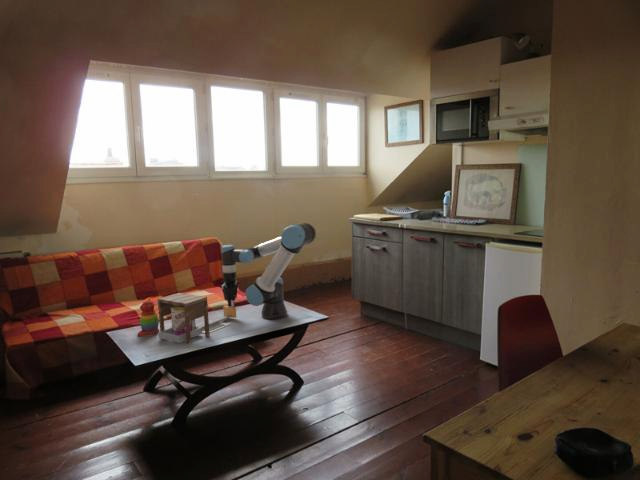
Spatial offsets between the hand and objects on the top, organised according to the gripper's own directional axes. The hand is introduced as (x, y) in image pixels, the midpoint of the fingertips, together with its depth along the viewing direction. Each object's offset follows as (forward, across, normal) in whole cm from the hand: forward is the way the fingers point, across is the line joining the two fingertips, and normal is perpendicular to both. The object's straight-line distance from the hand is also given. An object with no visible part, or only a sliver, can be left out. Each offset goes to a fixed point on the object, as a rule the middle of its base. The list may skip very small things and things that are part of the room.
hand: (231, 311), depth 265 cm
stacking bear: (+4, +41, -21) cm, 46 cm away
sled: (+3, +23, +1) cm, 23 cm away
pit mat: (+4, +19, +1) cm, 19 cm away
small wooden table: (+4, +36, +1) cm, 36 cm away
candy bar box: (+4, +36, +1) cm, 36 cm away
